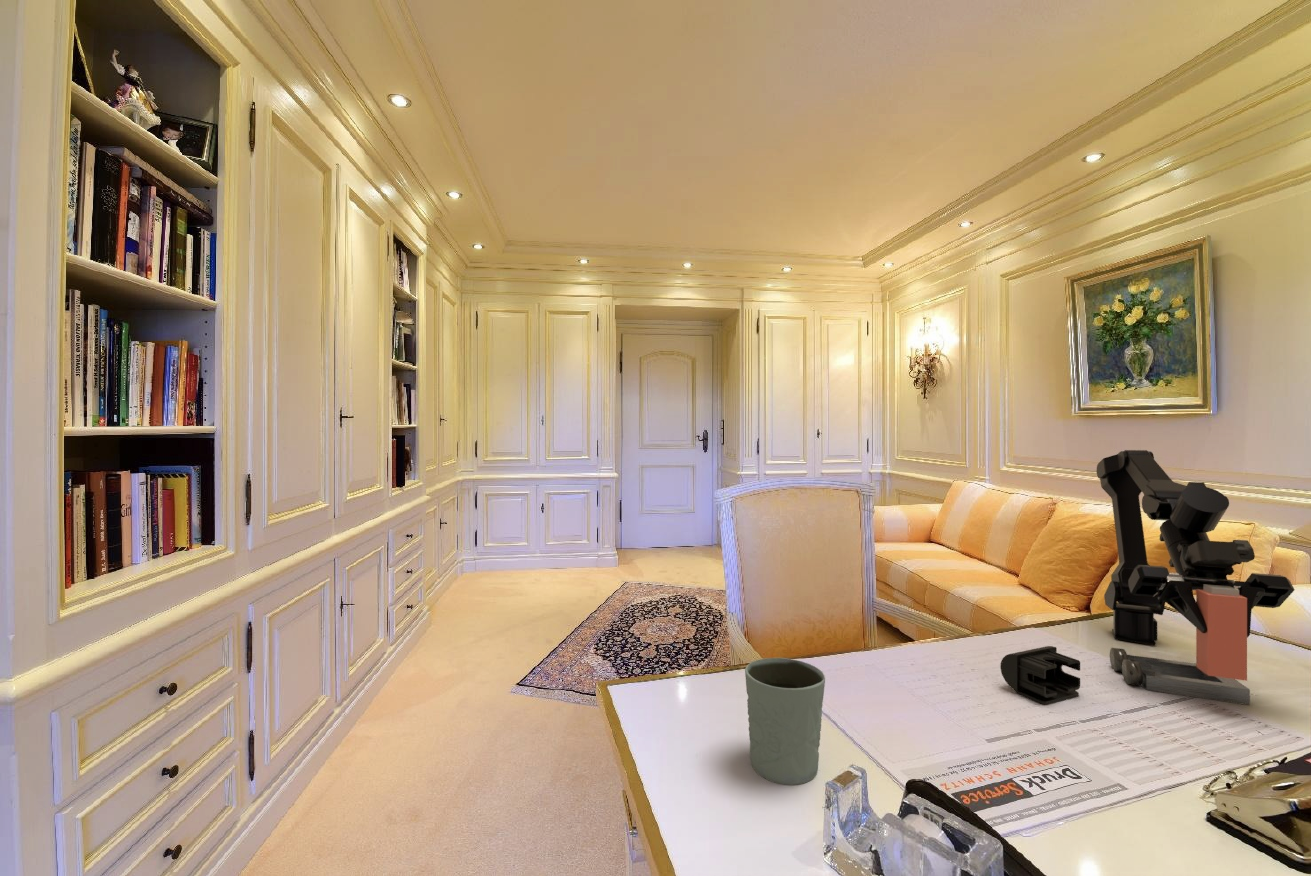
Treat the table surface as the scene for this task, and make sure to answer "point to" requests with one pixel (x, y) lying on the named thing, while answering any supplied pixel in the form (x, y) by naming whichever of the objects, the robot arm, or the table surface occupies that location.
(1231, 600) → the reddish-brown tall block
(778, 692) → the grey cup
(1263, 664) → the table surface
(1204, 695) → the chassis
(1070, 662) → the end cap
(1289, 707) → the table surface
